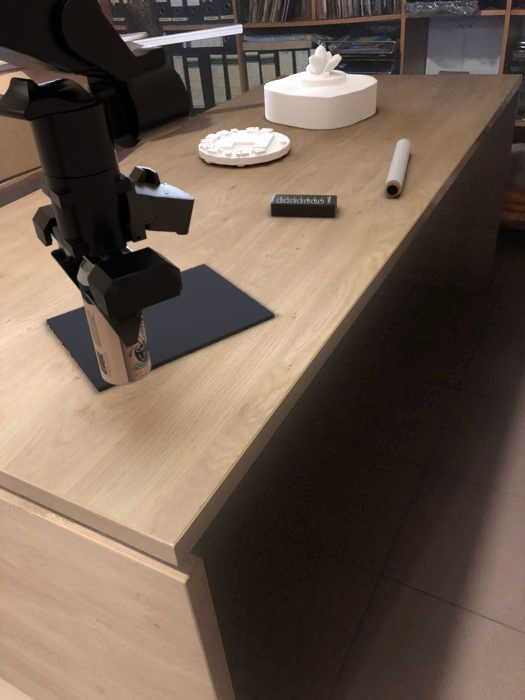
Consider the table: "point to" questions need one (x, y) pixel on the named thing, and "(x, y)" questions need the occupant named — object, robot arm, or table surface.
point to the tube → (398, 168)
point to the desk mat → (171, 322)
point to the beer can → (113, 343)
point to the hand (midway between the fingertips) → (120, 332)
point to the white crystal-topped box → (321, 96)
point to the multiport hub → (304, 205)
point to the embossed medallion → (243, 146)
